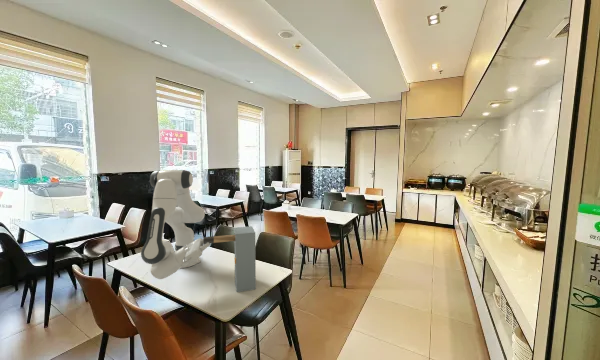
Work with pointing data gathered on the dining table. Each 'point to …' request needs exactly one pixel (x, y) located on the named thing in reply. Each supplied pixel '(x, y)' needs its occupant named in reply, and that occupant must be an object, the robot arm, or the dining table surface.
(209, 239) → the lever
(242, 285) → the cabinet
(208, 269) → the dining table surface
